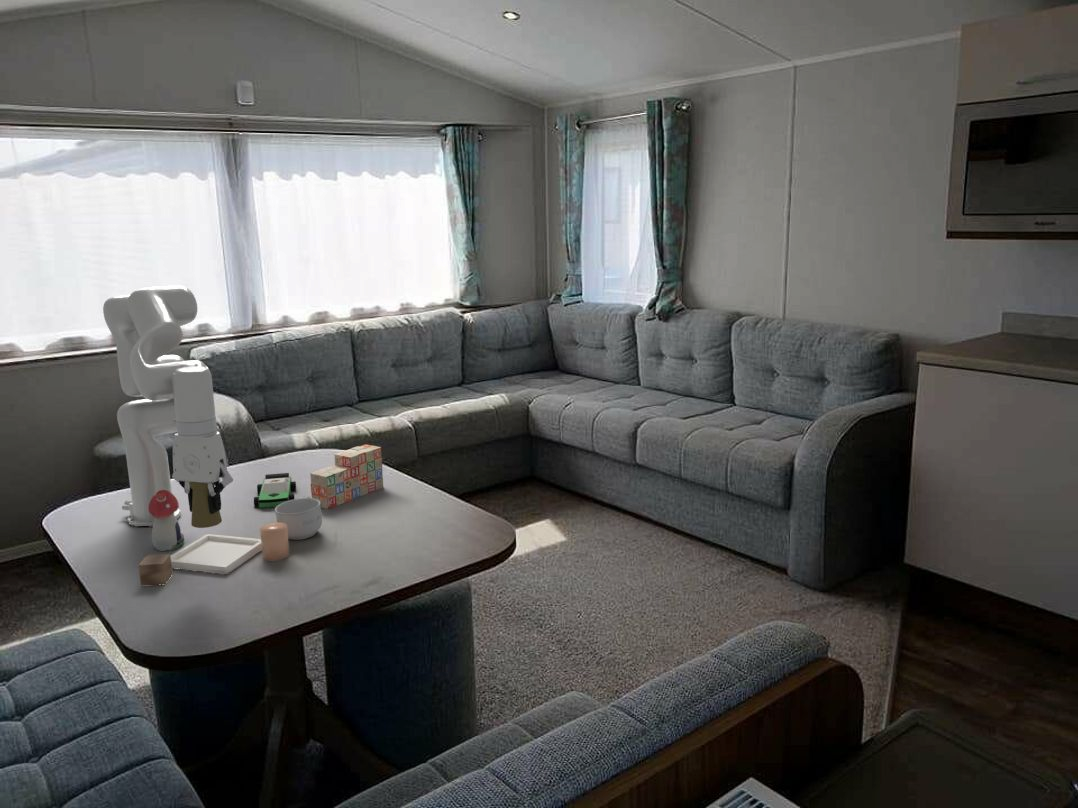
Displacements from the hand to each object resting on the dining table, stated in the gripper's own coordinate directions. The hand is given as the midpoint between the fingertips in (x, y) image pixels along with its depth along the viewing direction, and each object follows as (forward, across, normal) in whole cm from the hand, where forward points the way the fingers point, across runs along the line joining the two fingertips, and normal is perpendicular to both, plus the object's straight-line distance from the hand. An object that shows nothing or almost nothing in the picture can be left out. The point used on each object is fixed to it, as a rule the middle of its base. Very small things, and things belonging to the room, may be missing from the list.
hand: (205, 509), depth 177 cm
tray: (+17, -8, +12) cm, 22 cm away
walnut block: (+17, -13, -2) cm, 21 cm away
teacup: (+17, +4, +30) cm, 35 cm away
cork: (+3, 0, 0) cm, 3 cm away
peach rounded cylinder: (+17, +5, +16) cm, 24 cm away
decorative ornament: (+17, -23, +15) cm, 32 cm away
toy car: (+18, -17, +52) cm, 58 cm away
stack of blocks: (+17, +2, +58) cm, 60 cm away
